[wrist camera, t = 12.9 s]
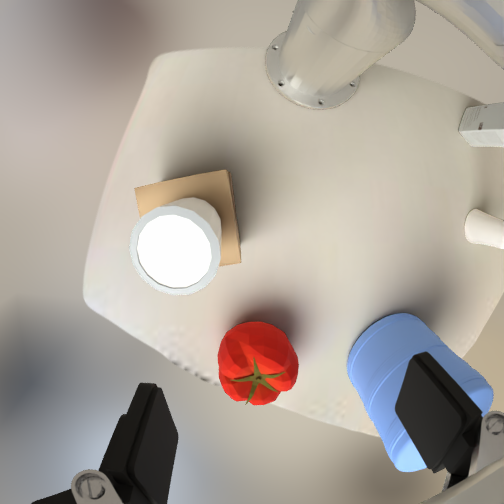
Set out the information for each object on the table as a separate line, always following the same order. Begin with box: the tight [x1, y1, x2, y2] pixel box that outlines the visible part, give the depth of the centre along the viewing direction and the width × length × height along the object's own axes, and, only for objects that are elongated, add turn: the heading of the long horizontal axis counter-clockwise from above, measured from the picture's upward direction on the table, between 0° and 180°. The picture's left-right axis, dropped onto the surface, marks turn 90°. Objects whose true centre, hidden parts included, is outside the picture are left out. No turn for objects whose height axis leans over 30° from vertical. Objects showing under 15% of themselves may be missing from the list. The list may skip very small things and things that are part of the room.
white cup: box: [129, 197, 222, 295], centre depth 23 cm, size 7×7×7 cm
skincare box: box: [459, 103, 504, 147], centre depth 27 cm, size 6×4×12 cm
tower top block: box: [135, 169, 241, 266], centre depth 28 cm, size 9×9×4 cm
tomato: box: [218, 322, 299, 405], centre depth 35 cm, size 11×12×9 cm
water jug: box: [347, 313, 493, 472], centre depth 28 cm, size 16×16×28 cm
